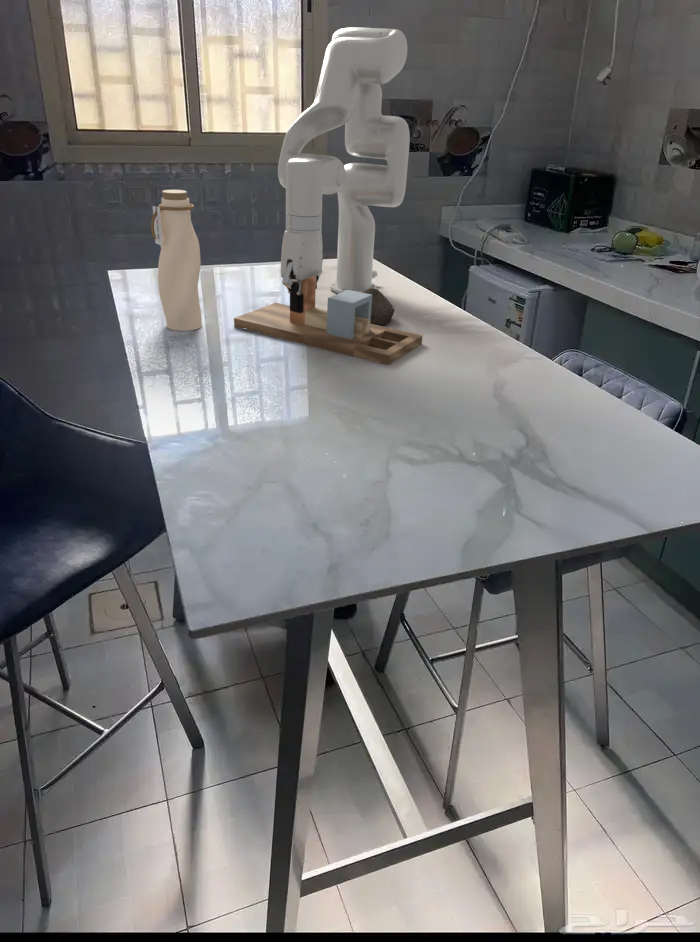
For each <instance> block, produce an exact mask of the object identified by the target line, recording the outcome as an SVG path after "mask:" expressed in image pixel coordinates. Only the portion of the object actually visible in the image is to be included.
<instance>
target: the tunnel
mask: <svg viewBox="0 0 700 942" xmlns="http://www.w3.org/2000/svg"><path fill="white" fill-rule="evenodd" d="M371 306H372V295H371V294H366V293H361V292H357V291H352V290H346V291H344V292H341V293H336V294H334V295H332V296H329V297H327V309H326V310H327V334H330V335H334V336H339V337H343V338H347V339H353V338H354V322H355V316H357V317H361V318H366V319H370V323H372V322H371ZM369 330H370V325H369Z"/></svg>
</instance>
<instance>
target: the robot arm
mask: <svg viewBox="0 0 700 942" xmlns="http://www.w3.org/2000/svg"><path fill="white" fill-rule="evenodd" d="M407 57H408V42H407V38H406V35H405V34H404V32H403V31H402V30H400V29H396V28H378V27H376V28H375V27H374V28H373V27H357V26H356V27H353V26H352V27H351V26H350V27H344V28H340V29H337V30H336V31H335V32H334V33H333V34H332V38H331V41H330V43H329V44H328V45H327V47H326V49H325V53H324V58H323V62H322V66H321V70H320V73H319V74H320V75H319V80H318V83H317V88H316V92H315V97H314V101H313V103H312V104H311V105H310V107H308V108H307V109H306V110H304V111H303V112H302V113H301V114H300V115H299V116H298V117H297V118H296V119H295V120H294V121H293V123H292V124H291V125H290V126H289V128H288V130H287V132H286V134H285V136H284V138H283V142H282V146H281V150H280V153H279V154H280V155H279V159H278V163H277V165H278V166H277V178H278V181H279V184H280V185H281V186H282V188H284V189H285V230H284V233H283V238H282V243H281V244H282V245H281V254H280V255H281V256H280V257H281V258H280V277H281V278H282V280H281V281H282V282H281V283H282V285H284V287H286V289H287V292H288V294H289V306H290V311H293V312H297V313H302V312H303V295H302V294H301V293H302V285H303V280H305V279H307V278H310V277H313V276H316V286H315V291H316V290H317V289H318V284H317V283H318V282H319V278H320V277H321V275H322V274H323V262H324V261H323V256H324V255H323V253H324V252H323V250H324V248H323V235H322V225H323V223H322V222H323V221H322V220H323V195H334V194H336V193H337V202H338V231H337V232H338V233H337V234H338V236H337V257H336V259H337V260H336V280H335V281H334V282H331V283H330V286H329V287H330V290H331V291H332V292H333V293H336V294H339V293H341V292H344V291H346V290H352V291H357V292H361V293H362V292H364V291H365V290H367V289H370V288H375V289H377V290H378V287H377V285H375V284H374V283H373V282H372V280H373V279H375V278H377V277H378V272H377V271H376V270H373V266H374V265H373V264H374V249H375V247H374V246H375V233H376V222H375V218H374V216H373V213H372V212H371V210H370V208H369V206H373V207H374V206H376V207H384V208H396V207H399V206H400V205H401V204H402V203H403V201H404V199H405V194H406V190H407V189H406V187H407V178H408V165H409V155H410V154H409V153H410V143H411V142H410V139H411V138H410V136H411V135H410V134H411V133H410V128H409V124H408V122H407V121H406V120H405V118H402V117H401V116H395V115H384V114H382V103H383V102H382V101H383V91H382V87H381V85H385V84H387V83H390V82H391V80H393V78H395V77H396V76H397V75H398V74H399V73H401V71H402V70H403V68H404V66H405V65H406V61H407ZM343 125H344V126H345V127H344V147H345V149H346V152H347V153H348V154H349V155H351V156H354V157H358V158H366V159H378V160H386V162H387V163H386V164H387V165H384V164H374V163H363V162H351V163H346V164H344V163H343V162H342V161H341V159H339V158H338V157H336V156H334V155H333V156H332V155H325V154H324V155H323V154H316V153H307V152H306V153H304V152H303V153H302V150H303V148H304V147H306V145H307V143H309V142H310V141H311V140H313V139H314V138H316V137H318V136H320V135H322V134H324V133H327V132H330V131H332V130H334V129H337V128H339V127H342V126H343ZM294 276H296V278H295V279H294ZM294 282H297V283H298V285H297V286H296V285H295V284H294Z"/></svg>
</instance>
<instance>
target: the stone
mask: <svg viewBox="0 0 700 942" xmlns="http://www.w3.org/2000/svg"><path fill="white" fill-rule="evenodd" d="M362 293H366V294H371V295H372V306H371V322H370V323H371V324H374V325H378V326H383V327H386V326H387V325H388V324H389V323H391V320H392V319H393V316H394V313H395V308H394V307H393V305H392V304H391V302H390V300H388V298H387V297H386V296H385V295H384V293H382V292H381V291H380V290H378V288H377V289H375V288H370V289H367V290H365V291H364V292H362Z"/></svg>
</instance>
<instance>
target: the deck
mask: <svg viewBox="0 0 700 942" xmlns="http://www.w3.org/2000/svg"><path fill="white" fill-rule="evenodd" d="M233 327H234V328H238V329H241V328H246V329H248V330H247V331H249V330H251V331H250V332H253V331H255V332H254V333H257V332H260V333H259V334H261V333H262V335H266V336H269V337H270V336H271V337H272V338H273V337H274V338H277V339H282V340H286V341H289V342H294V343H299V344H302V345H306V346H310V347H315V348H318V349H322V350H326V351H330V352H334V353H337V354H342V355H346V356H350V357H354V358H357V359H358V358H359V359H363V360H367V361H370V362H375V363H378V364H383V365H386V366H389V365H391V364H392V363H394V362H395V361H397V360H399V359H400V358H402V357H403V356H405V355H406V354H408V353H410V352H411V351H413V350H414V349H416V348H418V347H420V346H421V345H422V344H423V335H422V334H418V333H413V332H410V331H405V330H400V329H395V328H392V327H387V326H378V325H374V324H373V323H370V330H369V333H368V334H366V335H364V336H362V337H360V338H359V337H355V336H354V338H353V339H347V338H343V337H339V336H334V335H330V334H327V330H325V329H321V328H317V327H312V326H308V325H304V324H299V323H295V322H291V321H290V304H289V305H288V304H284V303H278V302H274V303H271V304H269V305H266V306H264V307H260V308H258V309H255V310H253V311H250V312H247V313H244V314H241V315H239V316H236V317H234V318H233Z"/></svg>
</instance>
